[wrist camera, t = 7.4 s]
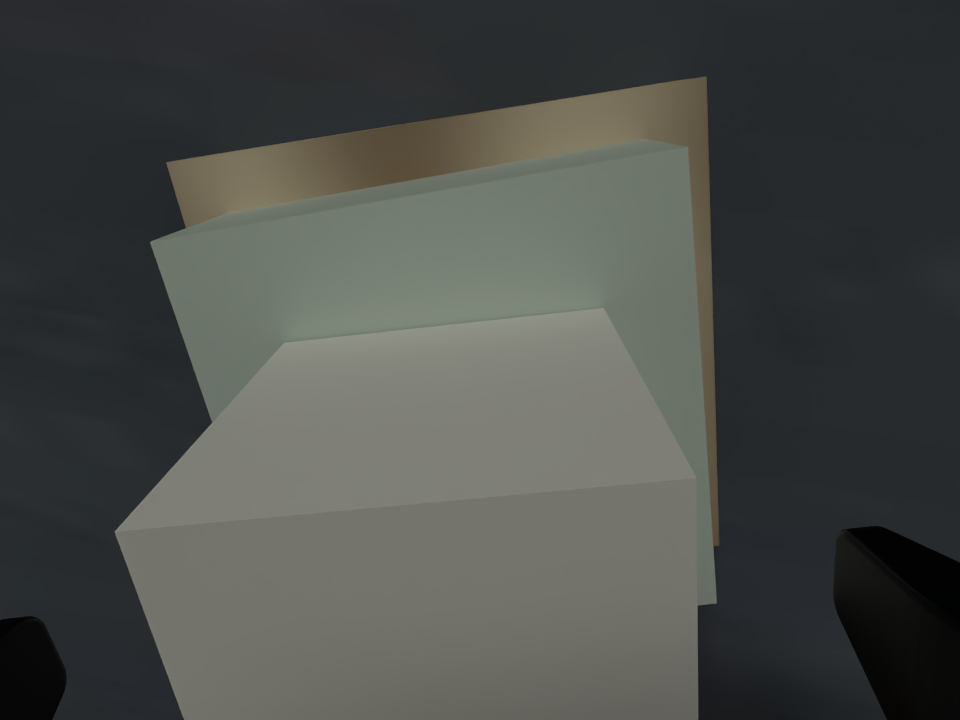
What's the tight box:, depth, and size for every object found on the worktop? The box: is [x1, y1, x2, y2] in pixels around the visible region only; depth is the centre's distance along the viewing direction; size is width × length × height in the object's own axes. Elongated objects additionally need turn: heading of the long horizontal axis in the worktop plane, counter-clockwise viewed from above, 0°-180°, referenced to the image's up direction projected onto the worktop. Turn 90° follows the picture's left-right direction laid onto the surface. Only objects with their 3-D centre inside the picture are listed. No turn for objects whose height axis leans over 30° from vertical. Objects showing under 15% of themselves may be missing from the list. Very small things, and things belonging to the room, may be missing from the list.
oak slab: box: [166, 77, 719, 546], centre depth 15 cm, size 10×10×3 cm
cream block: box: [115, 308, 698, 720], centre depth 9 cm, size 5×5×5 cm
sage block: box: [150, 139, 717, 606], centre depth 12 cm, size 8×8×3 cm
